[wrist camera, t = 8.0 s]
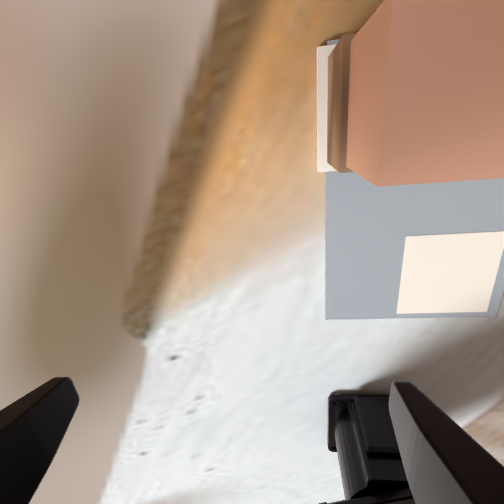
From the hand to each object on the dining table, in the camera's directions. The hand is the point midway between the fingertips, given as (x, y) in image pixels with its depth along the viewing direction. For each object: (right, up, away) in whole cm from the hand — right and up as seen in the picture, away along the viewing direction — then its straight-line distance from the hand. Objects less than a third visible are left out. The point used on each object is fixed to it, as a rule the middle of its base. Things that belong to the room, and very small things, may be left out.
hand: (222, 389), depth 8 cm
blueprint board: (+11, +7, +9) cm, 16 cm away
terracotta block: (+7, +10, +3) cm, 12 cm away
